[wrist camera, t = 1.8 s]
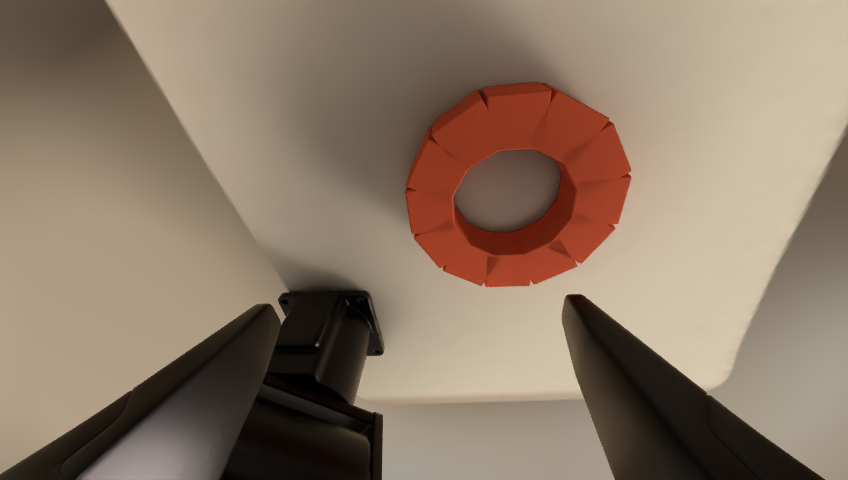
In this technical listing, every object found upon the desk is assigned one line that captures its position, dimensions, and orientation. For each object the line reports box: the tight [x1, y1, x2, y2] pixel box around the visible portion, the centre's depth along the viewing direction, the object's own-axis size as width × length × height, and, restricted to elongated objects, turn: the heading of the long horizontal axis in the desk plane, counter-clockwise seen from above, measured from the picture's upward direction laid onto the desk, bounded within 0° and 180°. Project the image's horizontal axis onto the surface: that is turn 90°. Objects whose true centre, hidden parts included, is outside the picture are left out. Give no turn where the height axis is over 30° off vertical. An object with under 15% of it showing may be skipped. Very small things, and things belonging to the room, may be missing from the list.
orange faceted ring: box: [405, 82, 631, 287], centre depth 15 cm, size 10×10×2 cm
